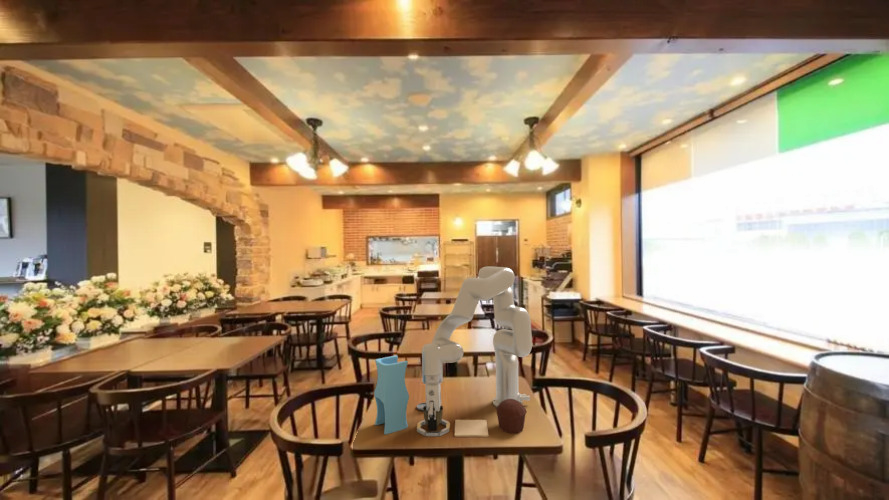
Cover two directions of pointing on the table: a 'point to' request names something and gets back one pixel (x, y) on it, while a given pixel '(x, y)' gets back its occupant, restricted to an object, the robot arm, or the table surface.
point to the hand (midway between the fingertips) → (433, 424)
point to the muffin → (511, 416)
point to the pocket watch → (421, 406)
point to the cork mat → (471, 428)
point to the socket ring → (433, 433)
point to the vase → (391, 394)
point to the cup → (438, 414)
